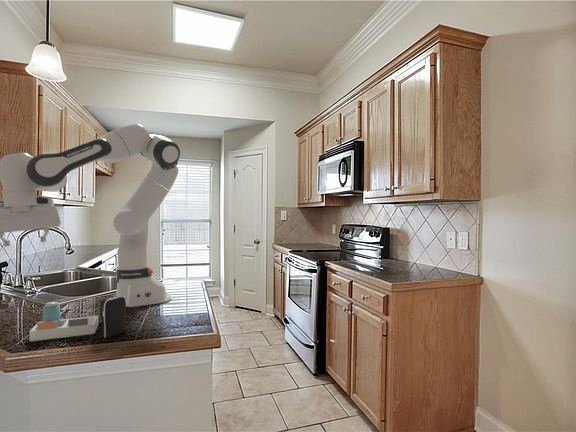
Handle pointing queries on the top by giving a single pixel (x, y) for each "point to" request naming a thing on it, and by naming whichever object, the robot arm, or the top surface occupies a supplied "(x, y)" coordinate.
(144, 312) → the top surface
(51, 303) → the light blue cylinder
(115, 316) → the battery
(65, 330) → the dock
